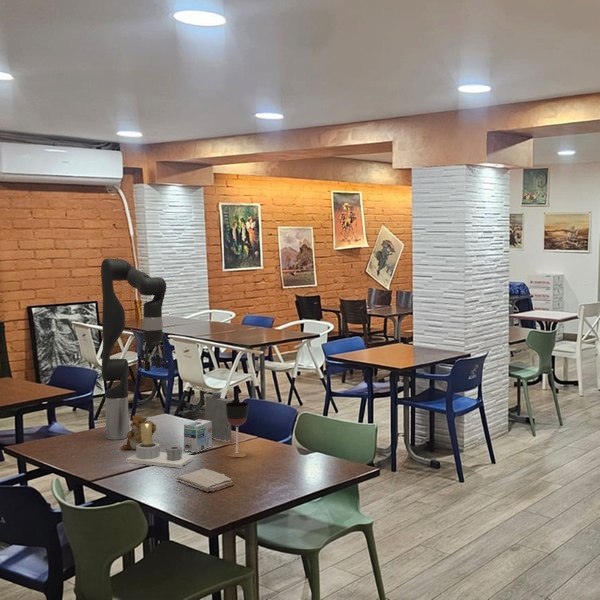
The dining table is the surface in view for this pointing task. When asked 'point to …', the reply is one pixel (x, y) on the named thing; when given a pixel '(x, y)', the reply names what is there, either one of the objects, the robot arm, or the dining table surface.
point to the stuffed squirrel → (136, 432)
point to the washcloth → (205, 479)
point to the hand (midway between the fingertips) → (153, 369)
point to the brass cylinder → (146, 435)
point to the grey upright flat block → (218, 416)
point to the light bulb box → (197, 435)
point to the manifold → (160, 456)
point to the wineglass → (237, 415)
